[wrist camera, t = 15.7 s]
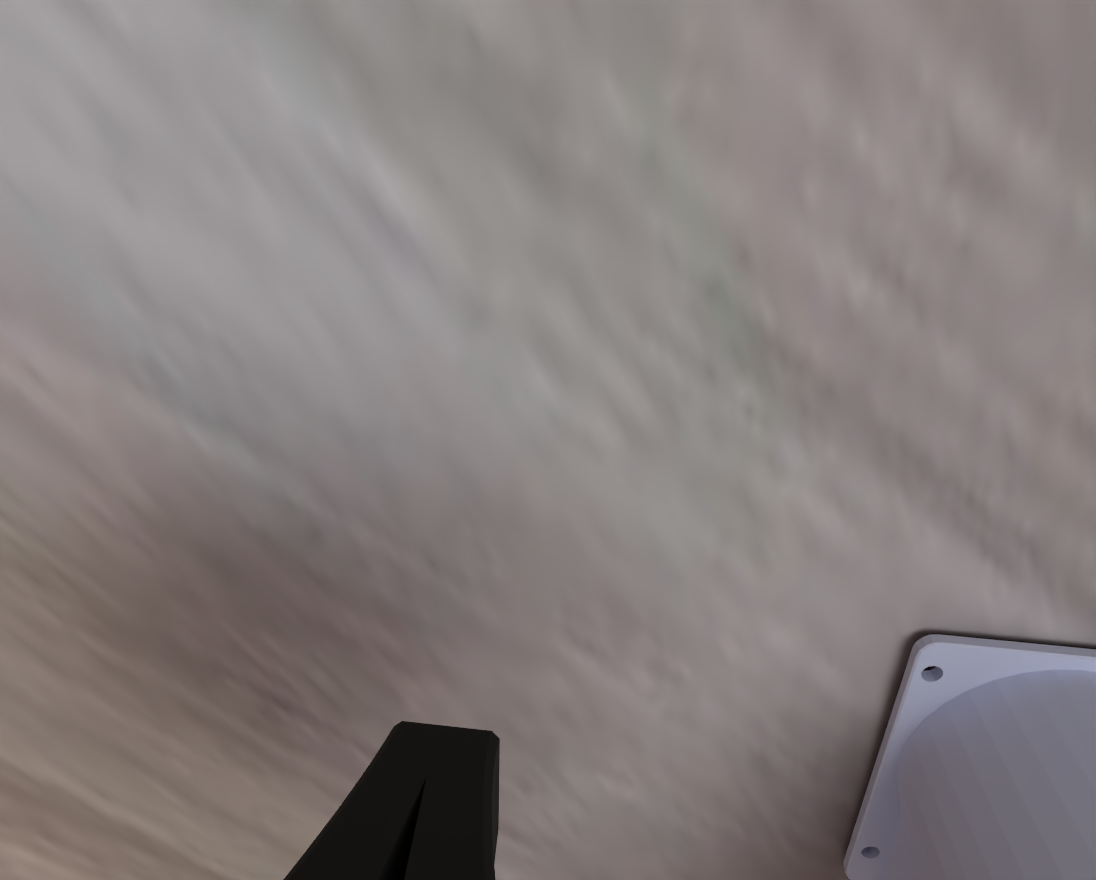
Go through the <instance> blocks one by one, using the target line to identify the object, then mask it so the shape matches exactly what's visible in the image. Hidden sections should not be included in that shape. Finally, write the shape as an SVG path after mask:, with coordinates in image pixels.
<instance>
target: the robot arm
mask: <svg viewBox="0 0 1096 880" xmlns="http://www.w3.org/2000/svg"><path fill="white" fill-rule="evenodd" d="M929 666H936V667H935V668H934V669H932V670H928V671H923V670H924V669H925V668H927V667H929ZM499 742H500V739H499V738H498V737H497V736H496V735H495V734H494V733H493V732H492V731H487V730H478V729H468V728H459V727H450V726H441V725H432V724H423V723H414V722H405V721H401V722H400V723H398V724H397V725H395V726H394V727H393V729H392V730H391V732H390V734H389V735H388V737H387V739H386V740H385V742H384V743H383V745H382V746H381V748H380V750H379V751H378V753H377V754H376V756H375V757H374V759H373V760H372V762H371V763H370V765H369V766H368V768H367V769H366V771H365V772H364V773H363V775H362V776H361V778H360V779H359V781H358V782H357V784H356V785H355V786H354V788H353V789H352V791H351V792H350V793H349V795H348V796H347V797H346V799H345V800H344V802H343V803H342V804H341V806H340V807H339V809H338V810H337V811H336V813H335V814H334V815H333V817H332V818H331V819H330V821H329V822H328V823H327V824H326V826H325V827H324V828H323V830H322V831H321V832H320V834H319V835H318V836H317V837H316V839H315V840H314V841H313V843H312V844H311V845H310V847H309V848H308V849H307V851H306V852H305V853H304V854H303V856H302V857H301V858H300V860H299V861H298V862H297V863H296V865H295V866H294V867H293V868H292V870H291V871H290V872H289V873H288V875H287V876H286V877H285V878H284V880H495V870H494V861H495V852H496V844H497V836H498V815H499ZM844 869H845V874H846V876H847V877H848V879H850V880H1096V649H1085V648H1075V647H1065V646H1054V645H1044V644H1033V643H1023V642H1012V641H1002V640H992V639H981V638H971V637H960V636H950V635H939V634H935V635H927V636H925V637H922V638H920V639H919V640H918V641H916V643H915V644H914V646H913V648H912V651H911V654H910V657H909V660H908V663H907V666H906V669H905V672H904V676H903V679H902V682H901V685H900V688H899V691H898V694H897V697H896V700H895V703H894V706H893V710H892V713H891V716H890V719H889V722H888V725H887V728H886V731H885V734H884V737H883V741H882V744H881V747H880V750H879V753H878V756H877V759H876V762H875V765H874V768H873V772H872V775H871V778H870V781H869V784H868V787H867V790H866V793H865V796H864V799H863V803H862V806H861V809H860V812H859V815H858V818H857V821H856V824H855V827H854V830H853V833H852V837H851V840H850V843H849V846H848V849H847V852H846V855H845V858H844Z"/></svg>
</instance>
